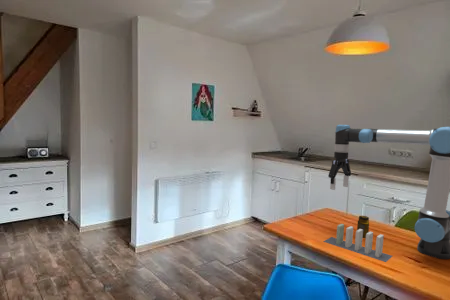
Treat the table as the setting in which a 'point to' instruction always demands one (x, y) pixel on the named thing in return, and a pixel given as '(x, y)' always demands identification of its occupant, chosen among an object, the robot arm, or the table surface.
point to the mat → (383, 257)
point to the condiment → (363, 225)
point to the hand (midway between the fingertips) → (339, 188)
